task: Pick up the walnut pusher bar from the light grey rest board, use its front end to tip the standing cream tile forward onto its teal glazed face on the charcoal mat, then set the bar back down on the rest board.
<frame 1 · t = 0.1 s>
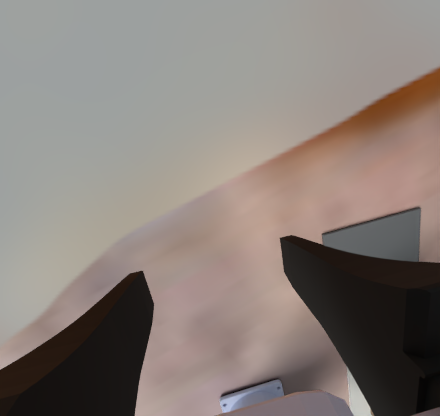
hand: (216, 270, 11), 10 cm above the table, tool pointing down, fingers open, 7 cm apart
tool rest: (374, 368, 30), on the table
mat: (371, 265, 25), on the table
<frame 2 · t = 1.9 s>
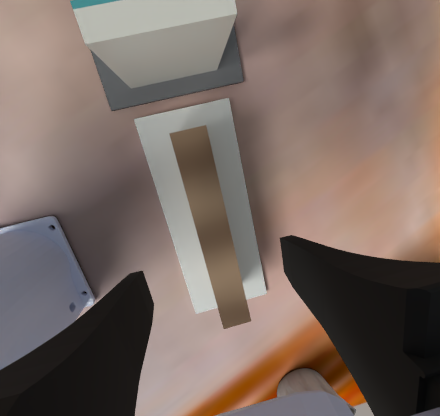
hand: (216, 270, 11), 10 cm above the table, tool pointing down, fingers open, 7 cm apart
cupcake: (298, 383, 30), on the table
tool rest: (209, 218, 22), on the table
tile: (171, 68, 17), resting on mat
mat: (158, 17, 17), on the table
pusher bar: (210, 219, 21), resting on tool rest
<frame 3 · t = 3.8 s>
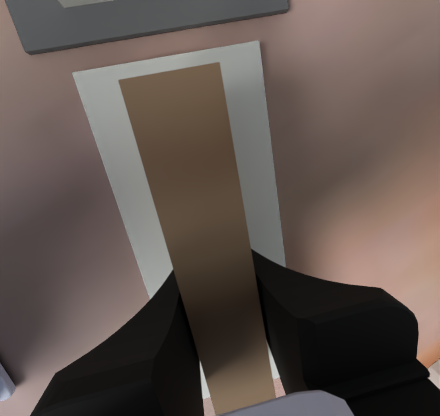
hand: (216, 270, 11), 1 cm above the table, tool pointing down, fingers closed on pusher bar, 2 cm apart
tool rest: (213, 257, 13), on the table
pusher bar: (214, 261, 12), resting on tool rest, touching gripper
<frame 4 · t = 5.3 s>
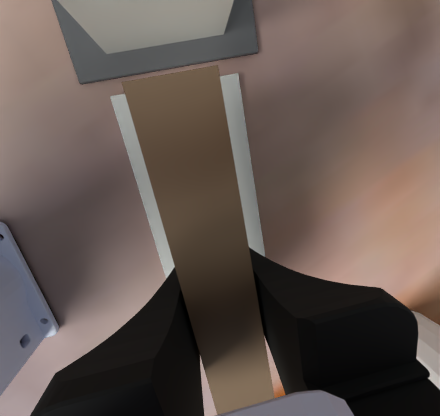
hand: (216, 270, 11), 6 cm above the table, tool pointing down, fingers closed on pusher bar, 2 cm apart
shot glass: (399, 332, 23), on the table
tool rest: (208, 229, 17), on the table
tile: (162, 28, 13), resting on mat
pusher bar: (213, 258, 13), point 5 cm above the table, touching gripper
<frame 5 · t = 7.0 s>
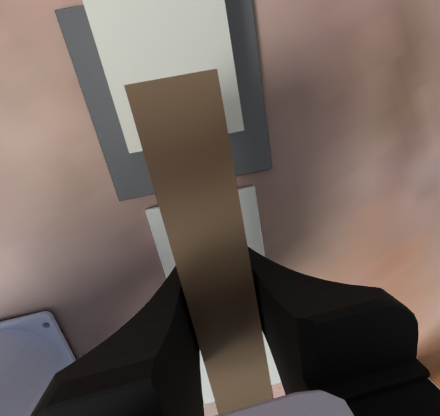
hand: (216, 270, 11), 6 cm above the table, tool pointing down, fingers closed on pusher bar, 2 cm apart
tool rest: (225, 307, 19), on the table
tile: (188, 141, 14), point 1 cm above the table, tilted 90°, touching mat
mat: (178, 101, 14), on the table
pusher bar: (213, 256, 13), point 4 cm above the table, touching gripper
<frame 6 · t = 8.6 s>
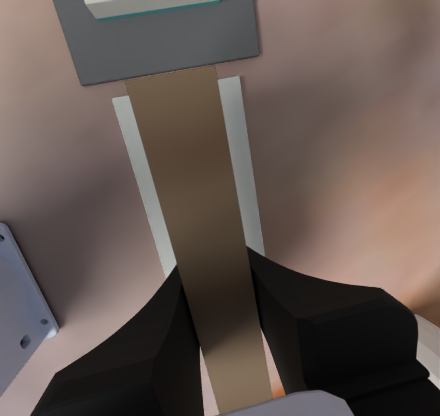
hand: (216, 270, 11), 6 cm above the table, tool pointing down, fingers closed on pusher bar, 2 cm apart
shot glass: (398, 333, 23), on the table
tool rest: (208, 231, 17), on the table
tile: (158, 3, 12), point 1 cm above the table, tilted 90°, touching mat
pusher bar: (212, 252, 13), point 4 cm above the table, touching gripper
when the fingers open (2 cm above the table, at t = 9.6 s): pusher bar stays where it is, resting on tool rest.
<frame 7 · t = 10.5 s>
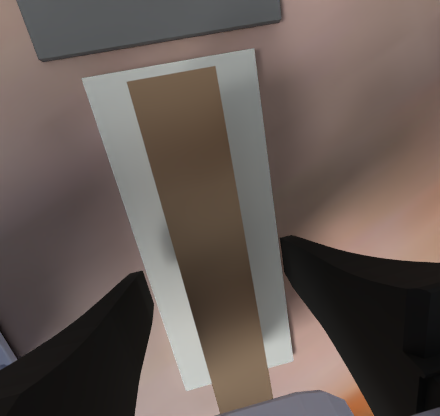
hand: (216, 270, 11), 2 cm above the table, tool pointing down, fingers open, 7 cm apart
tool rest: (212, 251, 13), on the table
pusher bar: (212, 251, 13), resting on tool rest
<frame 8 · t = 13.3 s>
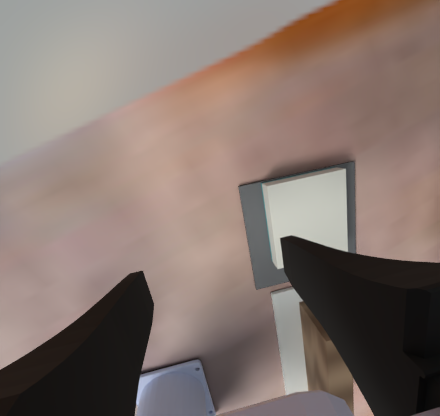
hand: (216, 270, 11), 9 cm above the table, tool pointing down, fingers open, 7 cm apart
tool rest: (312, 352, 27), on the table
tile: (308, 256, 22), point 1 cm above the table, tilted 90°, touching mat
mat: (301, 228, 22), on the table
pusher bar: (314, 354, 26), resting on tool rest
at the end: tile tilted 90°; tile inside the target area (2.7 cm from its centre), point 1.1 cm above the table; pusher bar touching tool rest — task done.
